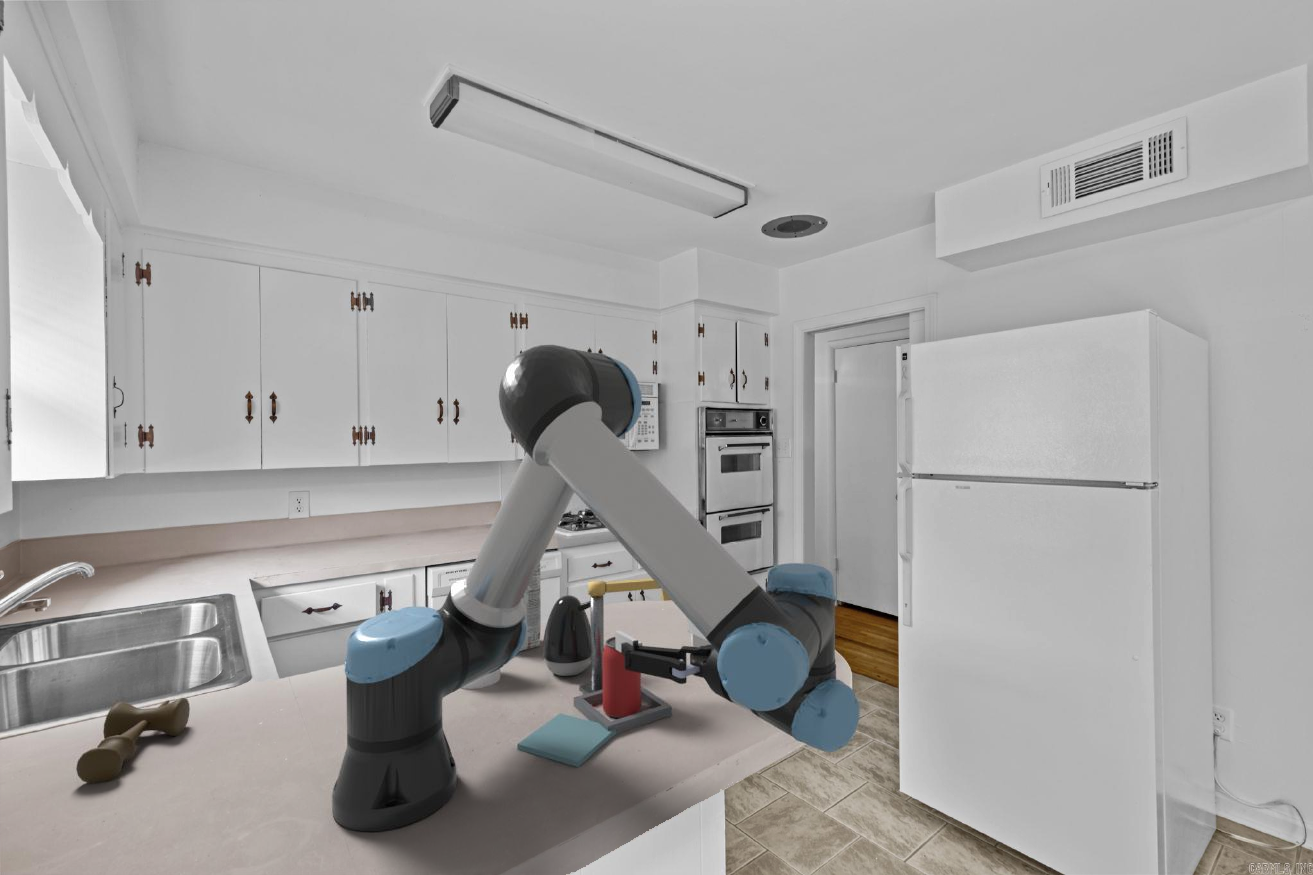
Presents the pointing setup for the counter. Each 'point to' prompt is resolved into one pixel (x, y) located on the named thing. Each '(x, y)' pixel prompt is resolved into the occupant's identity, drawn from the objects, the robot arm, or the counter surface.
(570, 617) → the pump dispenser
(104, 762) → the kendama
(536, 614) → the juice carton
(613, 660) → the beer can
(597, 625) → the post
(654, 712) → the collar
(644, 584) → the clip arm
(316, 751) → the counter surface
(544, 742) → the mat
